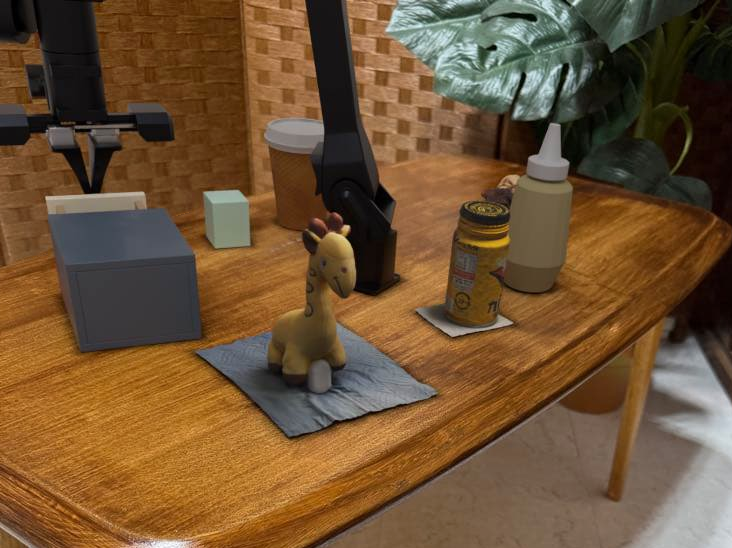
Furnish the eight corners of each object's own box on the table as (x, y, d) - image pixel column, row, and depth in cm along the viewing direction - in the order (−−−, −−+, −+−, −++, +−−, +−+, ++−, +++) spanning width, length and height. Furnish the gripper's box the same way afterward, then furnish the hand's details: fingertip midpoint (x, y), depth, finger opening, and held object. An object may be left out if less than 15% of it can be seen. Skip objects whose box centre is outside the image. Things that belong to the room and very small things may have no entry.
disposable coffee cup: (350, 222, 115) (354, 127, 108) (308, 240, 109) (308, 140, 101) (295, 206, 119) (295, 113, 111) (251, 222, 112) (247, 124, 105)
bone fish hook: (538, 239, 117) (552, 200, 131) (545, 205, 114) (559, 168, 128) (473, 226, 119) (494, 188, 132) (478, 192, 116) (499, 157, 129)
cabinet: (62, 296, 90) (47, 214, 85) (171, 286, 94) (164, 207, 89) (80, 352, 81) (65, 264, 75) (201, 338, 85) (195, 254, 79)
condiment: (513, 324, 93) (532, 214, 86) (452, 338, 89) (466, 224, 82) (474, 300, 98) (488, 193, 91) (413, 312, 94) (423, 201, 87)
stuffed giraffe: (288, 438, 71) (290, 247, 62) (195, 357, 82) (185, 185, 73) (436, 399, 80) (458, 227, 70) (333, 331, 91) (340, 174, 82)
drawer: (51, 243, 99) (40, 183, 95) (142, 237, 103) (135, 178, 98) (71, 302, 87) (60, 236, 83) (173, 292, 91) (167, 229, 87)
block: (240, 233, 109) (238, 189, 105) (250, 246, 106) (249, 201, 102) (205, 236, 107) (202, 191, 104) (215, 248, 104) (212, 203, 101)
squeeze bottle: (573, 287, 103) (606, 128, 92) (534, 303, 99) (564, 138, 87) (520, 267, 107) (546, 112, 96) (481, 281, 103) (503, 120, 91)
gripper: (147, 36, 96) (161, 180, 105) (-34, 33, 89) (-2, 187, 98) (168, 56, 88) (181, 209, 98) (-28, 54, 81) (7, 219, 91)
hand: (93, 205), depth 96 cm, fingers closed
